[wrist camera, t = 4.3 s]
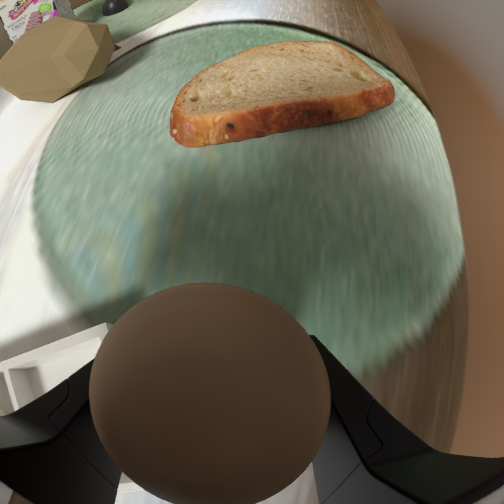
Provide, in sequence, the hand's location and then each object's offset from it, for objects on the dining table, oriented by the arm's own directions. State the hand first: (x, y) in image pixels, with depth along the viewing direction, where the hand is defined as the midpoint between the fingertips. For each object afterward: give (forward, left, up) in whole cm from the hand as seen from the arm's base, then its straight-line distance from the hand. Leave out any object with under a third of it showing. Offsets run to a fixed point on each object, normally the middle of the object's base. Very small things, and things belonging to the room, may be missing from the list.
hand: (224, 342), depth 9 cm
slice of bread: (+17, -12, -7) cm, 22 cm away
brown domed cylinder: (-1, +1, -7) cm, 7 cm away
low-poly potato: (+31, +8, -7) cm, 32 cm away
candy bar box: (+52, +14, -7) cm, 54 cm away
